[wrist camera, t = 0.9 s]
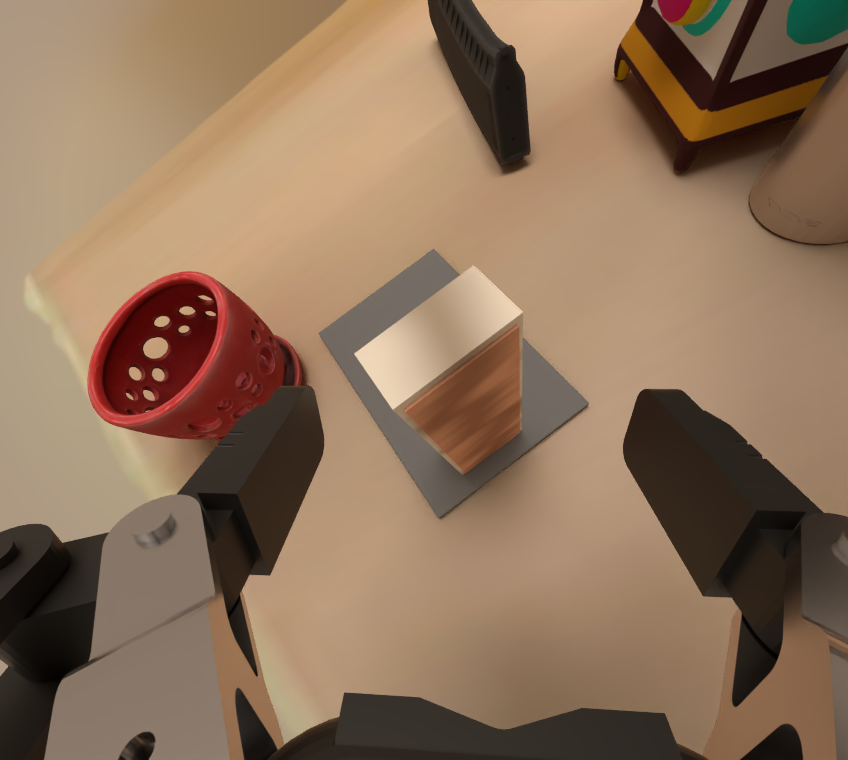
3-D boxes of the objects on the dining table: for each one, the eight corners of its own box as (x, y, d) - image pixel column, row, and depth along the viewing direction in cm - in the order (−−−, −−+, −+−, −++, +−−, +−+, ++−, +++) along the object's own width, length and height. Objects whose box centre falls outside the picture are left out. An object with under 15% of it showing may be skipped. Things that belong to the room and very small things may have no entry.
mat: (434, 252, 39) (433, 248, 39) (587, 405, 30) (588, 403, 29) (321, 336, 39) (318, 333, 38) (440, 518, 29) (438, 518, 29)
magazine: (543, 89, 32) (437, -168, 36) (506, 104, 32) (406, -152, 36) (522, 202, 49) (452, 18, 53) (498, 211, 49) (430, 28, 53)
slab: (498, 402, 31) (473, 265, 15) (523, 431, 30) (525, 314, 14) (441, 445, 31) (354, 353, 15) (463, 476, 30) (394, 412, 13)
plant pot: (266, 316, 42) (178, 243, 31) (337, 383, 36) (260, 321, 26) (181, 402, 40) (56, 356, 29) (241, 485, 35) (116, 465, 24)
